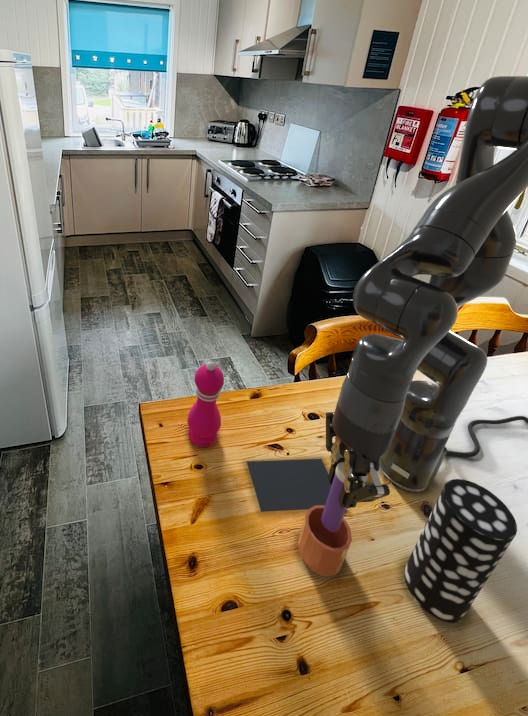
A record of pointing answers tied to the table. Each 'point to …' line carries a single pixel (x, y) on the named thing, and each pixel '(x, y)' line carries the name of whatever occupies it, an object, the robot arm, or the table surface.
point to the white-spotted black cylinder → (458, 549)
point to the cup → (323, 543)
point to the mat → (290, 483)
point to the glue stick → (334, 502)
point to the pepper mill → (206, 406)
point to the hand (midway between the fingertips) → (340, 492)
